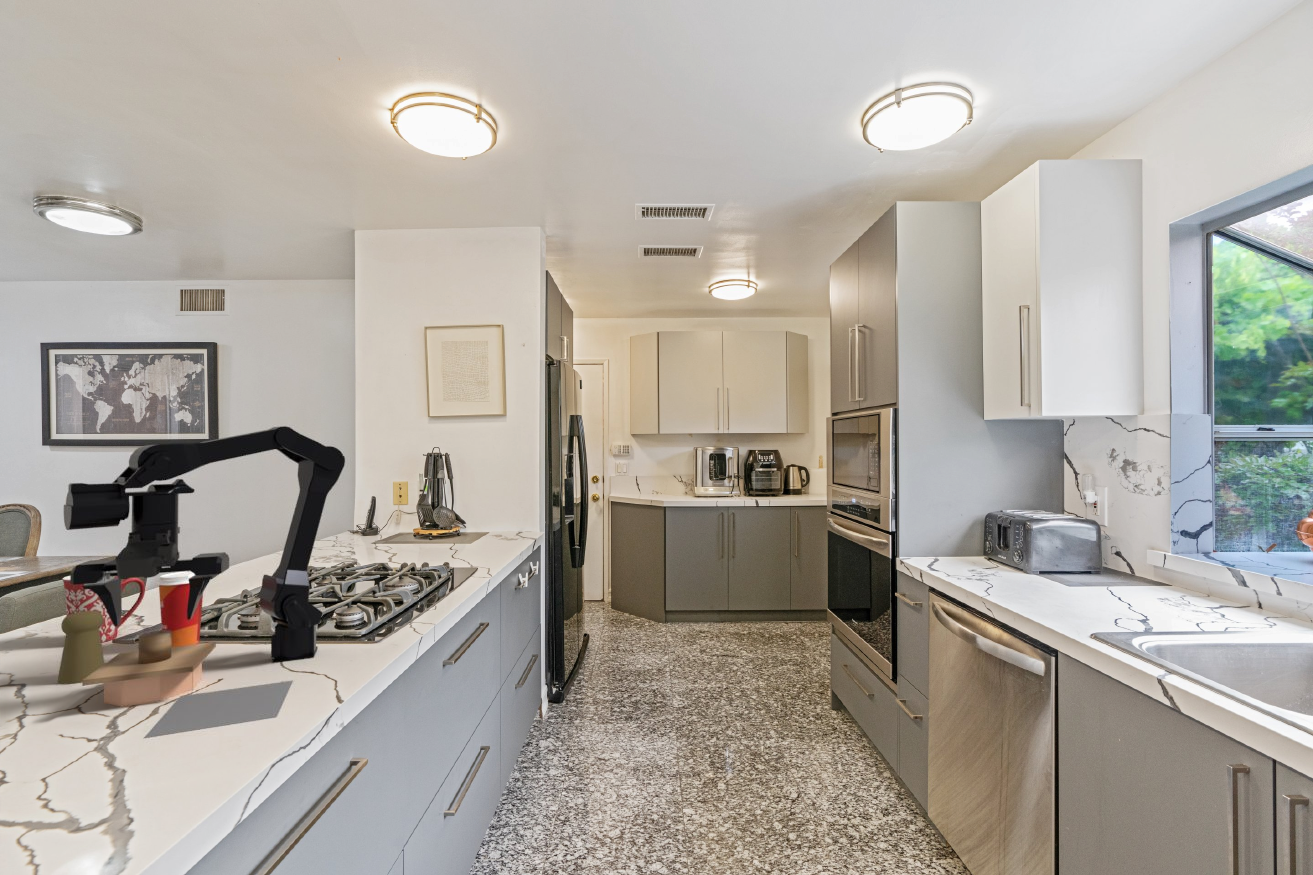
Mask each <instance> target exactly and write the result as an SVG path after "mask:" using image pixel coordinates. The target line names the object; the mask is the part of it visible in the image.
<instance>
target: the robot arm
mask: <svg viewBox="0 0 1313 875" xmlns="http://www.w3.org/2000/svg"><path fill="white" fill-rule="evenodd" d="M274 450H277V451H279V453H281V454H283V456H284V457H286V458H288V459H289V460H290V461H293V462H294V463H296V464H297V465H298V466H297V467H298V468H297V479H298V480H297V481H298V486H299V493H298V497H297V500H296V504H295V507H294V512H293V514H292V519H291V522H290V527H289V530H288V533H287V538H286V541H285V544H284V548H283V551H282V556H281V559H280V561H279V565H278V567H277V568H276V569H275V571H274V573H272V575H269V574H263V576H262V583H261V588H260V591H259V592H258V593H257V594H256V598H258V599H259V607H260V608H261V610H262V611H263V613H265V614H267V615H269V616H270V618H271V620H272V622H273V623H276V625H275V626H274V632H273V633H272V634H271V636H270V640H271V641H270V642H271V643H270V644H271V645H270V651H271V652H270V657H271V659H272V664H276V663H277V664H278V663H284V662H293V661H301V660H308V659H314V658H315V657H316V654H317V651H318V649H319V647H318V646H317V625H319V624H320V622H321V619H322V617H323V611H321V610H320V609H319V608H317V607H315V605H313V604H312V603H311V602H310V601H309V600H310V588H311V585H310V578H309V572H308V569H309V564H310V560H311V557H312V552H313V548H314V545H315V541H316V537H317V534H318V530H319V526H320V523H321V518H322V516H323V512H324V508H325V504H326V500H327V498H328V497H327V496H328V494H329V493H330V492H331V491H332V489H333V487H334V486H335V485H336V484H337V483H338V480H339V478H340V476H341V474H342V472H343V469H344V467H345V465H346V464H345V463H346V457H345V456H344V454H343V452H342V451H341V450H340V449H338V448H337V447H335V446H328V445H324V444H323V443H320V442H319V441H316V440H314V439H312V438H310V437H308V436H306V435H304V434H301V433H299V432H298V431H296V430H294V429H293V428H291V427H290V426H285V425H284V426H273V427H271V428H269V429H265V430H260V431H254V432H253V431H252V432H249V433H243V434H237V435H234V436H228V437H221V438H216V439H211V440H205V441H202V442H201V441H200V442H190V443H189V442H188V443H187V442H185V443H164V444H162V443H161V444H147V445H143V446H140V447H138V448H136V449H135V450H134V451H133V452H132V453H131V454H130V457H129V459H128V466H127V467H126V468H125V469H124V470H123V471H122V473H121V474H120V475H119V476H117V477H116V478H115V479H114V481H112V482H111V483H109V482H107V483H85V482H72V483H71V482H70V483H69V484H68V485H67V486H68V491H67V494H66V498H65V499H66V500H65V504H63V521H64V527H65V529H66V530H67V531H68V530H69V531H71V530H72V531H73V530H83V529H84V530H87V529H96V528H97V529H98V528H99V529H100V528H110V527H112V528H113V527H118V526H119V525H120V524H121V521H125V520H126V519H127V520H128V519H129V516H130V509H131V532H130V531H129V532H128V536H127V537H128V538H127V544H126V546H125V547H123V549H121V551H120V552H119V553H118V554H117V555H116V557H115V558H109V559H94V560H92V559H91V560H87V561H85V562H82V563H79V564H76V565H75V566H74V567H72V569H71V572H70V575H69V576H70V584H72V585H76V584H85V585H83V586H82V588H83V589H90V590H92V591H93V592H94V593H96V594H97V595H98V596H99V598H100V599H101V601H102V602H103V604H104V606H105V608H106V610H107V612H108V614H109V616H110V619H111V621H112V623H113V625H114V626H115V627H116V626H119V625H120V622H121V618H122V615H123V614H122V610H123V609H122V608H123V607H122V604H123V603H122V601H123V600H122V599H123V598H122V593H121V581H122V580H126V579H129V578H145V579H148V578H154V577H156V576H158V575H159V574H161V573H163V574H165V573H176V572H186V571H187V572H189V571H191V572H193V573H194V574H195V575H194V576H192V577H191V578H189V585H190V590H189V598H188V606H187V619H188V620H189V619H191V618H192V617H193V615H194V612H195V610H196V608H197V605H198V603H199V601H200V598H201V596H202V594H203V595H204V591H205V590H206V588H207V586H208V584H209V583H210V581H211V580H213V579H214V578H216V577H218V576H219V575H220V574H223V573H224V572H226V571H227V570H228V569H229V568H230V557H229V555H228V554H227V553H226V552H224V551H223V552H207V553H206V552H205V553H200V554H197V555H196V556H194V557H192V559H189V558H188V559H180V551H179V534H181V533H180V532H181V531H180V530H181V527H180V526H179V497H180V496H179V495H182V494H193V493H195V489H194V488H193V487H191V486H190V485H188V484H187V483H186V482H185V480H184V479H182V478H177V477H179V476H182V475H186V474H187V473H190V472H192V471H195V470H196V469H199V468H202V467H204V466H206V465H209V464H212V463H218V462H221V461H222V462H223V461H227V460H231V459H232V460H233V459H236V458H241V457H246V456H250V455H254V454H258V453H264V452H270V451H274ZM174 478H177V479H176V480H174V481H173V482H172V483H161V484H159V483H158V484H157V483H156V484H152V483H153V482H155V481H157V482H161V481H168V480H171V479H174ZM148 485H149V486H148ZM146 486H148V487H147V490H145V491H144V490H143V491H142V490H141V491H140V490H139V491H127V490H126V489H141V488H142V489H143V488H144V487H146ZM130 497H131V508H130ZM115 576H118V578H114V577H115Z"/></svg>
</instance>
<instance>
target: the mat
mask: <svg viewBox="0 0 1313 875" xmlns="http://www.w3.org/2000/svg"><path fill="white" fill-rule="evenodd" d="M293 682H294V680H286V681H279V682H274V683H273V682H272V683H266V684H258V685H251V686H246V687H245V686H244V687H238V688H237V687H236V688H230V689H224V690H215V691H208V692H202V693H194V694H188V695H187V694H186V695H181V696H180V695H179V698H178V699H177V700H176V701H175V702H174V703H173V704H172V705H171V706H170V708H169V709H168V710H167V711H166V712H165V713H164V714H163V715H162V717H161V718H160V719H159V720H158V721H157V722H156V723H155V724H154V726H152V728H151V729H150V730H149V731H148V733H147V734H145V736H144V737H143V739H149V738H157V737H161V736H167V735H175V734H179V733H187V732H193V731H199V730H204V729H205V730H207V729H212V728H219V727H223V726H224V727H225V726H231V725H237V724H238V725H239V724H242V723H249V722H257V721H261V720H268V719H276V718H277V717H278V716H279V713H280V712H281V709H282V706H283V704H284V702H285V700H286V697H287V695H288V693H289V691H290V689H291V686H292V685H293Z"/></svg>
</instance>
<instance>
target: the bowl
mask: <svg viewBox="0 0 1313 875" xmlns="http://www.w3.org/2000/svg"><path fill="white" fill-rule="evenodd" d="M202 670H203V661H202V662H201V663H200V664H199V666H198V667H197V668H196V669H195V670H194V671H193V672H186V673H179V674H171V675H163V676H155V677H147V678H140V679H132V680H124V681H116V682H108V683H103V703H104V704H107V705H114V706H117V707H121V708H123V707H124V708H125V707H130V706H137V705H145V704H146V705H147V704H152V703H158V702H163V701H166V700H168V699H172V698H174V697H177V696H180V695H181V696H182V695H183V694H186V693H189V692H192V691H194V690H195V688H197V686H198V685H199V684H200V683H201V682H202V681H203V680H202V679H203V678H202V677H203V676H202V675H203V671H202Z"/></svg>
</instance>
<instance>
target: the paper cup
mask: <svg viewBox="0 0 1313 875" xmlns="http://www.w3.org/2000/svg"><path fill="white" fill-rule="evenodd" d="M194 575H195V574H194V573H193V572H191V571H180V572H169V573H166V574H165V573H164V574H162V575H160V576H159V577H158V578H159V579H158V581H157V582H156V585H158V592H159V605H160V608H159V609H160V623H161V630H170V631H172V634H171V647H177V646H186V645H195V644H200V638H201V636H200V635H201V628H202V627H201V625H202V623H201V622H202V612H203V598H204V597H203V596H204V593H203V594H202V596H201V598H200V601H199V603H198V605H197V608H196V610H195V612H194V615H193V617H192V618H191V619H189V620H188V619H187V606H188V598H189V590H190V585H189V578H191V577H192V576H194Z"/></svg>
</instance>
